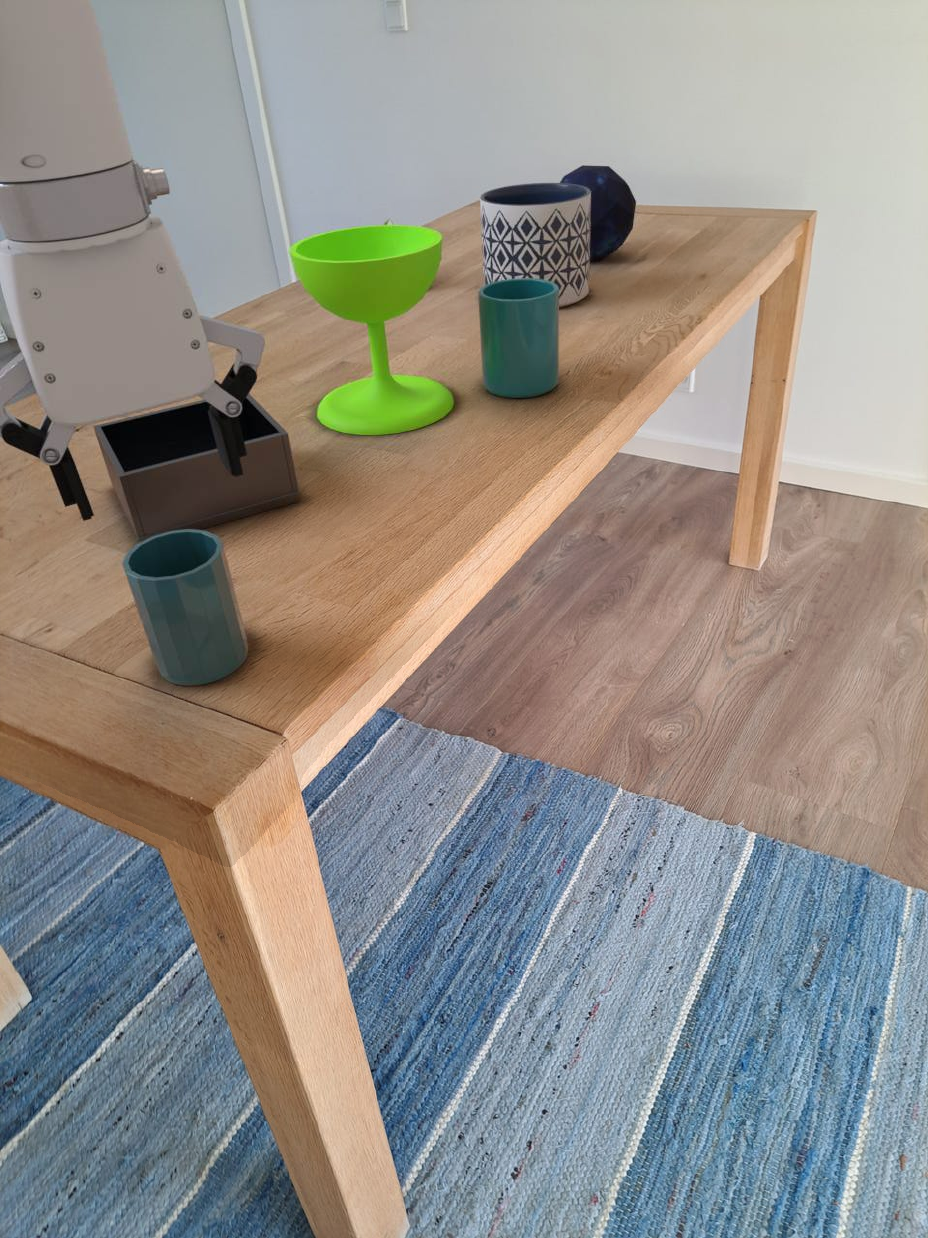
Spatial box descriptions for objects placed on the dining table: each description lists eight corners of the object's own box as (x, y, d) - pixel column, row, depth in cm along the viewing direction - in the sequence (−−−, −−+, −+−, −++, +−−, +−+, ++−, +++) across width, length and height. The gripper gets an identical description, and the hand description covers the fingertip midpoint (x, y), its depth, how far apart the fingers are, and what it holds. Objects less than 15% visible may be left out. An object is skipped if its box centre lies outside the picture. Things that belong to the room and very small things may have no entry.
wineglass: (369, 374, 112) (349, 221, 101) (479, 391, 105) (470, 229, 94) (288, 421, 101) (257, 256, 90) (404, 444, 94) (385, 267, 83)
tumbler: (169, 697, 62) (133, 591, 57) (149, 649, 67) (114, 546, 62) (259, 665, 64) (233, 560, 59) (234, 621, 69) (207, 520, 64)
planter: (468, 308, 132) (462, 203, 124) (505, 279, 144) (502, 181, 135) (571, 314, 126) (572, 205, 118) (601, 283, 138) (604, 182, 130)
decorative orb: (608, 241, 138) (634, 146, 137) (522, 235, 145) (547, 144, 144) (633, 279, 151) (657, 192, 150) (553, 272, 157) (575, 189, 157)
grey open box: (141, 547, 80) (118, 476, 75) (114, 490, 89) (93, 425, 85) (300, 500, 85) (287, 432, 81) (259, 452, 95) (245, 389, 90)
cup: (571, 365, 110) (572, 271, 103) (548, 402, 101) (547, 301, 94) (502, 361, 113) (498, 269, 106) (473, 397, 103) (467, 299, 97)
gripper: (210, 171, 53) (269, 434, 63) (-104, 224, 47) (15, 505, 58) (247, 189, 48) (305, 474, 58) (-103, 250, 42) (29, 556, 52)
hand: (161, 489), depth 58 cm, fingers open, 9 cm apart
